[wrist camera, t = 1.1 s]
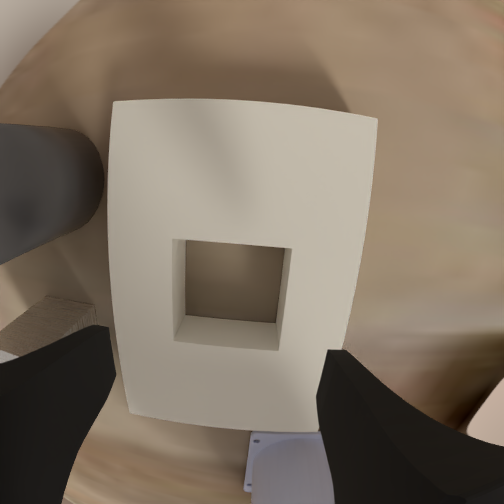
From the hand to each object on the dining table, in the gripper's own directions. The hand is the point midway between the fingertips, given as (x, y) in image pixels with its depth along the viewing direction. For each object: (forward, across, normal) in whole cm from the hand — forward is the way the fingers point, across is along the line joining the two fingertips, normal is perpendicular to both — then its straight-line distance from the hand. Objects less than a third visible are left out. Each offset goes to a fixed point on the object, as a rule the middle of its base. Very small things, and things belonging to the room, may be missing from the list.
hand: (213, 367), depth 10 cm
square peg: (+8, +11, +5) cm, 15 cm away
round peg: (+8, +11, -5) cm, 15 cm away
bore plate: (+8, 0, 0) cm, 8 cm away
